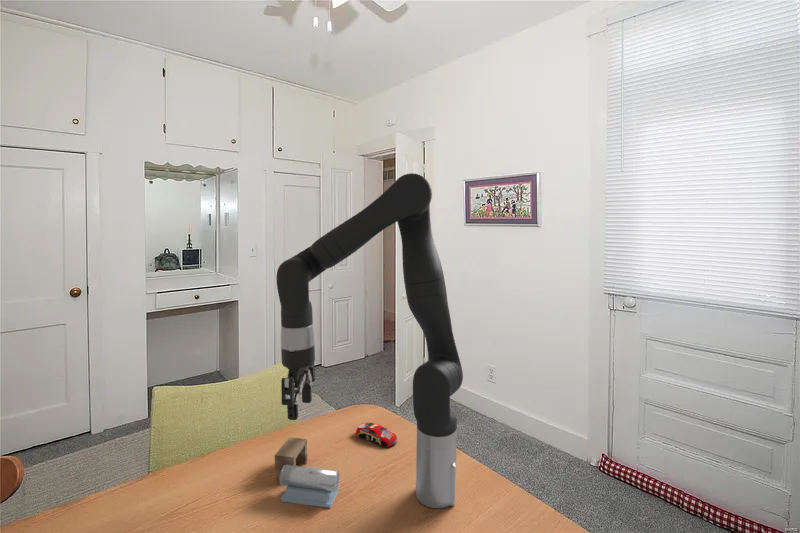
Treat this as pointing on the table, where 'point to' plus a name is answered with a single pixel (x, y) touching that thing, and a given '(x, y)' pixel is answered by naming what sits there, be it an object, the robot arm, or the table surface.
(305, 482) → the axle
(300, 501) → the cradle
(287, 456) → the brown bridge block
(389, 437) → the race car
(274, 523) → the table surface
